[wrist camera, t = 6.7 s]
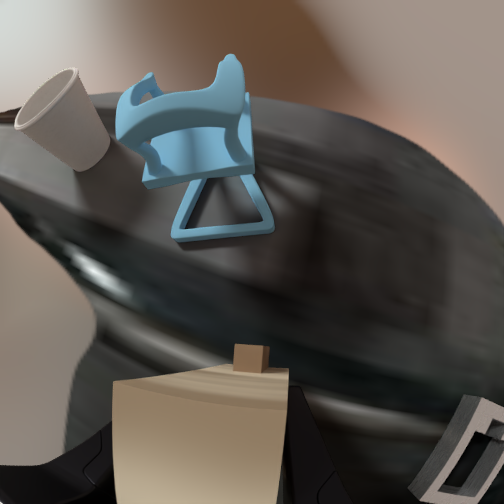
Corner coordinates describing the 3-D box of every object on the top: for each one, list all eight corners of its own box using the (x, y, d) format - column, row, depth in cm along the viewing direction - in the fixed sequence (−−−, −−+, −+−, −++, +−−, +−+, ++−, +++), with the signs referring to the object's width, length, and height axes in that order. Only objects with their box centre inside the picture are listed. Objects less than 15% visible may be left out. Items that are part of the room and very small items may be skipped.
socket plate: (460, 498, 10) (473, 508, 8) (407, 487, 12) (419, 500, 10) (509, 415, 12) (526, 417, 10) (463, 394, 14) (481, 397, 12)
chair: (267, 147, 23) (247, 24, 12) (275, 233, 20) (254, 103, 9) (182, 159, 24) (127, 53, 13) (174, 243, 21) (82, 144, 10)
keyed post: (283, 426, 13) (268, 546, 3) (222, 420, 14) (117, 508, 4) (290, 347, 15) (291, 345, 5) (228, 343, 16) (118, 326, 5)
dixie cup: (128, 149, 26) (79, 81, 17) (68, 195, 25) (9, 143, 16) (112, 114, 29) (75, 58, 20) (61, 153, 28) (17, 106, 19)
